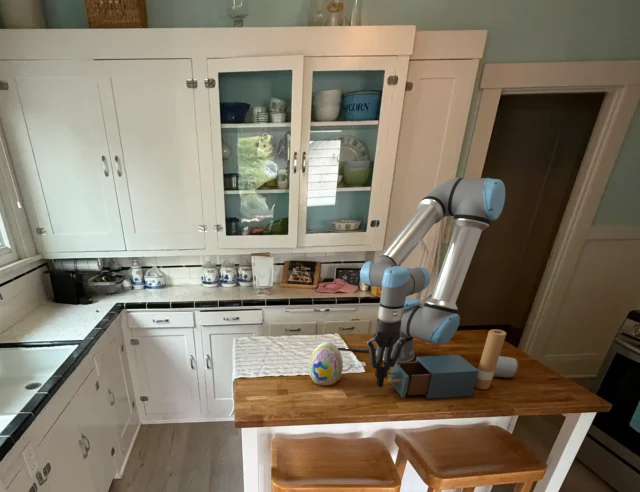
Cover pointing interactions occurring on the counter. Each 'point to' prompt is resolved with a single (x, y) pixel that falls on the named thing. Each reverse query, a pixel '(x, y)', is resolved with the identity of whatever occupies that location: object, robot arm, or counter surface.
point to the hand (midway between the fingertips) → (379, 385)
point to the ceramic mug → (506, 367)
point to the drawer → (409, 378)
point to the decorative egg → (326, 364)
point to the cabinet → (449, 376)
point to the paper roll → (489, 358)
